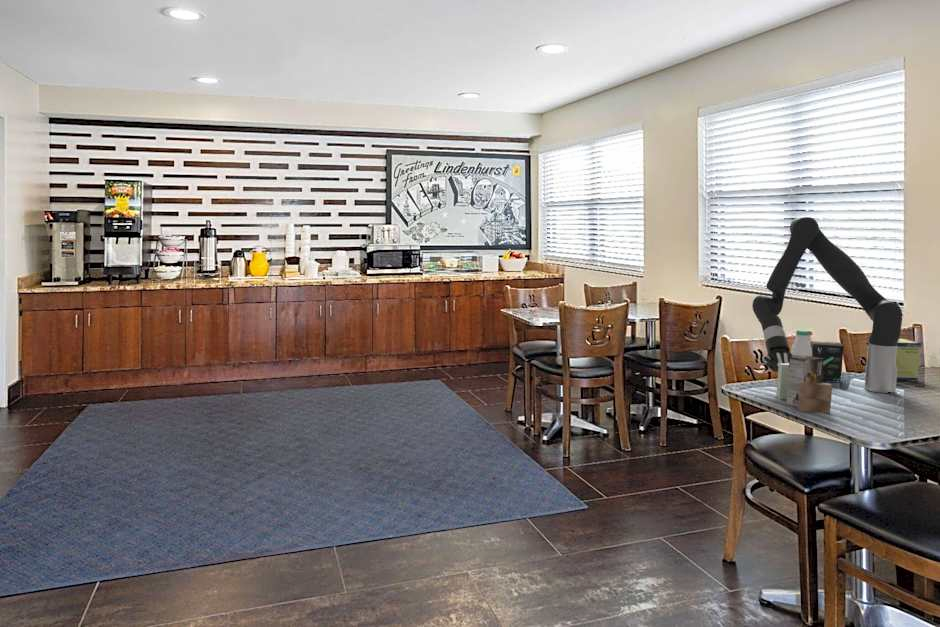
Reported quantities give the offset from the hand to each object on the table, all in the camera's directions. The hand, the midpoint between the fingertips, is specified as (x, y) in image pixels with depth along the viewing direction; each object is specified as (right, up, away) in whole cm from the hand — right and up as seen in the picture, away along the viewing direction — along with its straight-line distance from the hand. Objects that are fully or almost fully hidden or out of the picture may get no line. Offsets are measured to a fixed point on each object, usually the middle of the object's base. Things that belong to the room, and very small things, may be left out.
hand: (786, 380), depth 254 cm
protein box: (+58, -3, +36) cm, 68 cm away
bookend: (0, -6, -4) cm, 7 cm away
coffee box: (0, -7, -12) cm, 14 cm away
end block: (0, -8, -21) cm, 22 cm away
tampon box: (+29, -3, +31) cm, 42 cm away
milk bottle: (+16, -3, +26) cm, 30 cm away
